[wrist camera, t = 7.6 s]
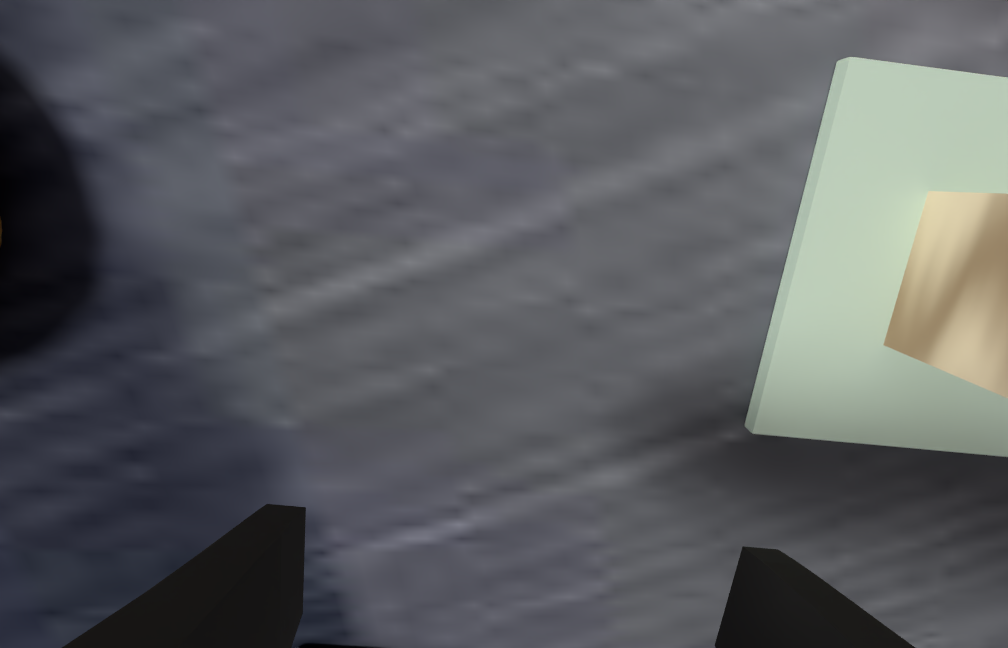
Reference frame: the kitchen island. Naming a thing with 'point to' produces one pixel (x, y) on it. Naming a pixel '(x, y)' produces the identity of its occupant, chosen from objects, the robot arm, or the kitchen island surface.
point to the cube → (957, 289)
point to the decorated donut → (0, 231)
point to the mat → (879, 263)
